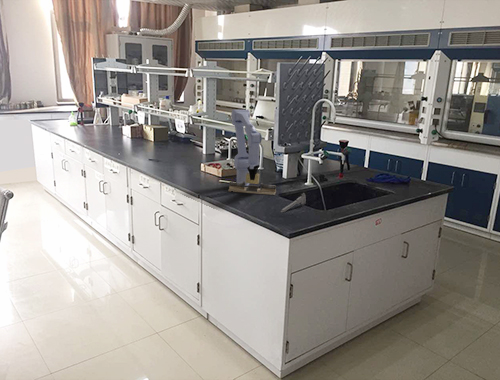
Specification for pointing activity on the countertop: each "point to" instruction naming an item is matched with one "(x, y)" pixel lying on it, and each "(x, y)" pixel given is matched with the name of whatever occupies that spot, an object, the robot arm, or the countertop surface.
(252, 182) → the coupler
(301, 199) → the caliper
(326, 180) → the countertop surface
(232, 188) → the mechanism
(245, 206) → the countertop surface
